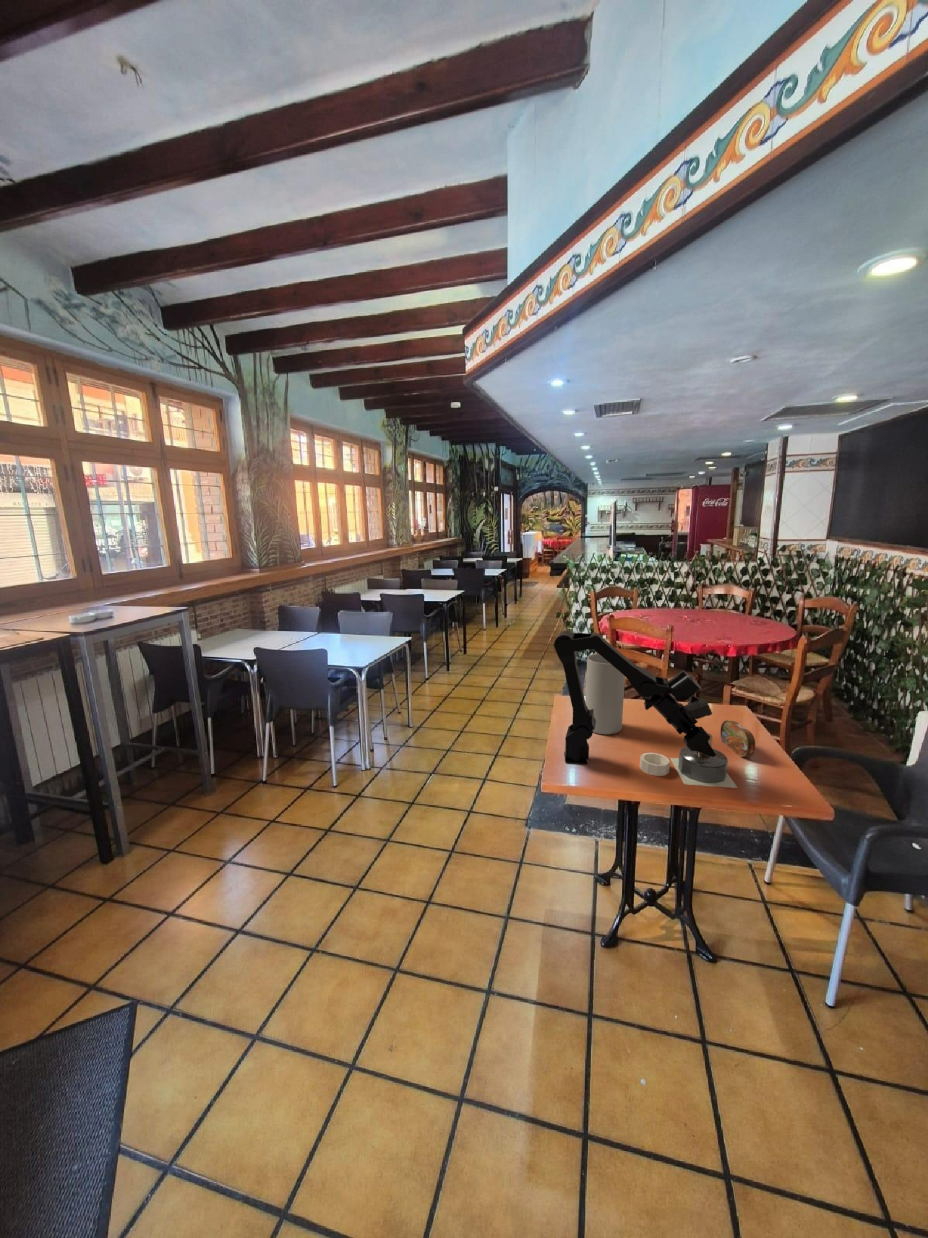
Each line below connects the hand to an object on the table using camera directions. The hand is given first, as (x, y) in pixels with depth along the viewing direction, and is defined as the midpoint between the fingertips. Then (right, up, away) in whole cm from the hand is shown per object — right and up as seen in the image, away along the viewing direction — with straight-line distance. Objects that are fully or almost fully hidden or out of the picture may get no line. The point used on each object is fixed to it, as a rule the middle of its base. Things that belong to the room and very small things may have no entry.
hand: (708, 748), depth 138 cm
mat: (-1, -8, +2) cm, 8 cm away
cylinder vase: (-21, -2, +32) cm, 39 cm away
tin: (+16, -5, +15) cm, 23 cm away
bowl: (-14, -7, +4) cm, 16 cm away
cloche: (-1, -7, +2) cm, 8 cm away
